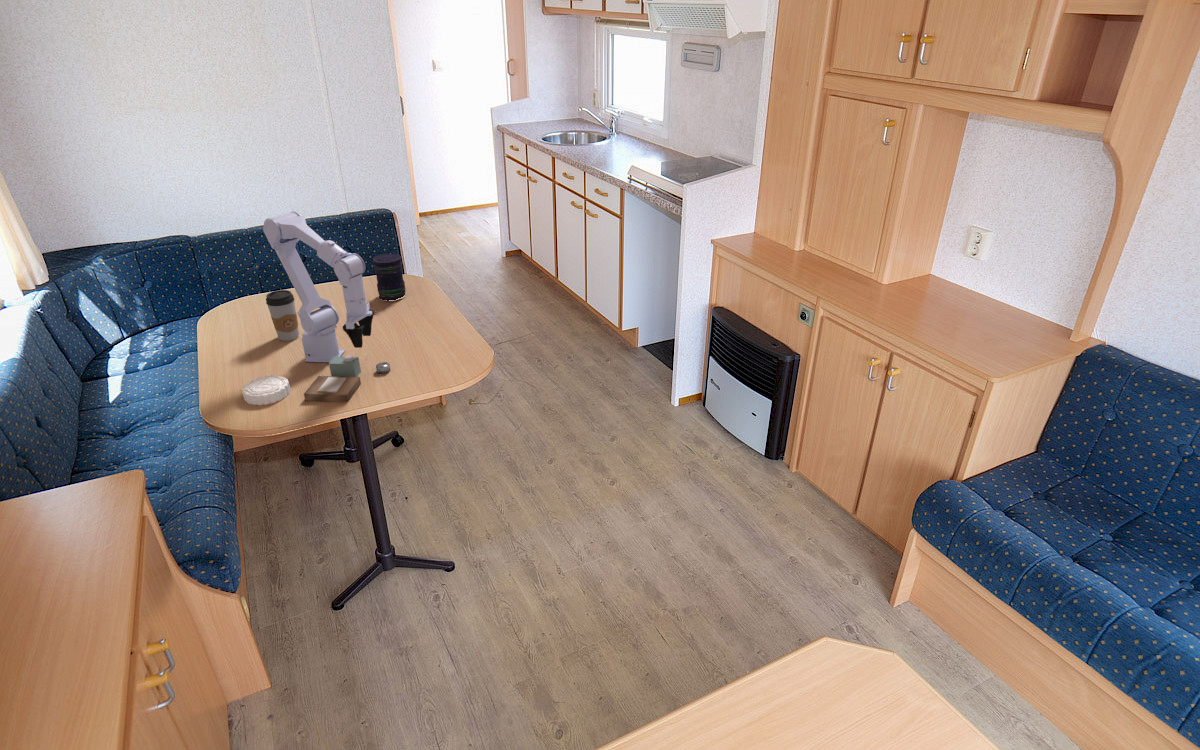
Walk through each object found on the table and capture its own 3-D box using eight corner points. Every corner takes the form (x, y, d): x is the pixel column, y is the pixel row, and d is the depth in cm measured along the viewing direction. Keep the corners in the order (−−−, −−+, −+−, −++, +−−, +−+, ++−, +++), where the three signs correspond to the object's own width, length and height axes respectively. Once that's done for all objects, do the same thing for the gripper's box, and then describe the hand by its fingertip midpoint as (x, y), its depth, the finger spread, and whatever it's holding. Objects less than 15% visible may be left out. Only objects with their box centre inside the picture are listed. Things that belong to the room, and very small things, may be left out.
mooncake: (271, 408, 185) (268, 397, 183) (234, 402, 188) (231, 391, 186) (300, 387, 195) (297, 376, 193) (264, 381, 198) (261, 370, 196)
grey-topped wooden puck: (374, 374, 202) (373, 368, 201) (379, 367, 205) (378, 362, 204) (388, 374, 202) (387, 368, 201) (392, 368, 205) (391, 362, 204)
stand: (305, 400, 188) (303, 392, 187) (319, 382, 197) (318, 375, 196) (348, 401, 188) (346, 393, 187) (361, 383, 197) (359, 376, 195)
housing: (332, 378, 199) (328, 361, 197) (337, 371, 203) (334, 353, 201) (355, 379, 199) (352, 361, 196) (361, 371, 203) (357, 354, 200)
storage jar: (399, 289, 260) (394, 251, 253) (411, 297, 253) (405, 258, 246) (374, 295, 255) (368, 257, 247) (385, 303, 248) (379, 264, 241)
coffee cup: (280, 345, 218) (269, 301, 211) (271, 336, 224) (261, 293, 216) (306, 338, 223) (296, 295, 215) (297, 329, 228) (288, 287, 221)
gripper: (360, 308, 186) (368, 352, 193) (377, 288, 199) (383, 330, 206) (334, 307, 186) (343, 352, 193) (353, 287, 199) (360, 330, 206)
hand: (362, 341), depth 199 cm, fingers open, 7 cm apart
